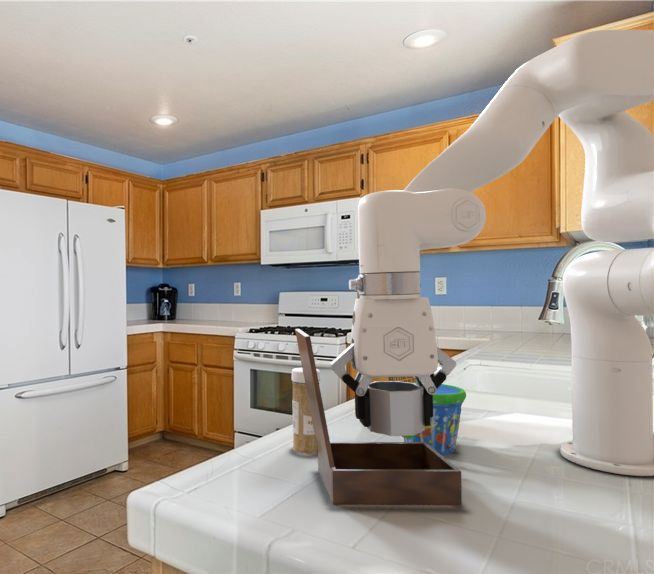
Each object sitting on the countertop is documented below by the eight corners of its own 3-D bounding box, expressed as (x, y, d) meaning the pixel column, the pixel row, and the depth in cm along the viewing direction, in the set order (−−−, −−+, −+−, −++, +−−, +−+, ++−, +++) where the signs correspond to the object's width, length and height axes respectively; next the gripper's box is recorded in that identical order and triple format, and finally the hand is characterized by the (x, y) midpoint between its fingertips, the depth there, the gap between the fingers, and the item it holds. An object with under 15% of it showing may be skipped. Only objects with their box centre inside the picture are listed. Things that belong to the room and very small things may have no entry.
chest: (426, 474, 69) (426, 442, 69) (462, 510, 58) (461, 471, 58) (318, 474, 70) (317, 441, 70) (332, 509, 59) (332, 470, 59)
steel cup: (411, 420, 67) (410, 380, 67) (430, 435, 61) (429, 390, 61) (361, 421, 68) (360, 381, 68) (374, 436, 61) (373, 392, 61)
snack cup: (429, 434, 88) (428, 377, 88) (488, 449, 79) (487, 387, 80) (371, 450, 80) (370, 387, 80) (429, 470, 71) (429, 399, 71)
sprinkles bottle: (317, 458, 76) (317, 371, 76) (289, 455, 78) (288, 370, 78) (323, 449, 81) (322, 367, 81) (295, 446, 82) (295, 366, 82)
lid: (299, 328, 70) (294, 329, 70) (310, 336, 59) (305, 336, 59) (319, 439, 70) (315, 439, 70) (334, 467, 59) (329, 468, 59)
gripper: (328, 289, 61) (332, 433, 61) (470, 285, 60) (475, 430, 60) (318, 289, 68) (322, 417, 68) (445, 285, 68) (449, 414, 68)
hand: (393, 422), depth 64 cm, fingers closed on steel cup, 6 cm apart
